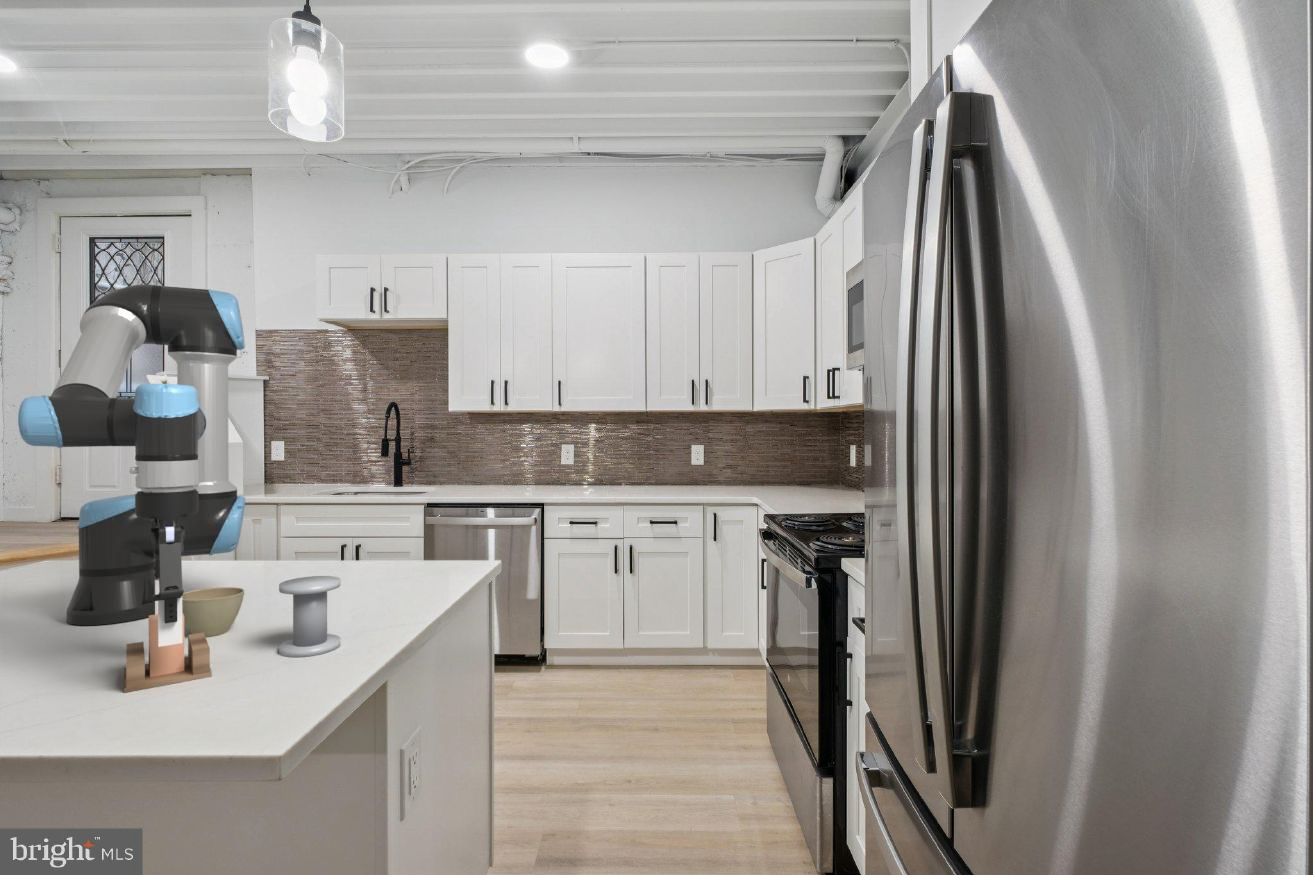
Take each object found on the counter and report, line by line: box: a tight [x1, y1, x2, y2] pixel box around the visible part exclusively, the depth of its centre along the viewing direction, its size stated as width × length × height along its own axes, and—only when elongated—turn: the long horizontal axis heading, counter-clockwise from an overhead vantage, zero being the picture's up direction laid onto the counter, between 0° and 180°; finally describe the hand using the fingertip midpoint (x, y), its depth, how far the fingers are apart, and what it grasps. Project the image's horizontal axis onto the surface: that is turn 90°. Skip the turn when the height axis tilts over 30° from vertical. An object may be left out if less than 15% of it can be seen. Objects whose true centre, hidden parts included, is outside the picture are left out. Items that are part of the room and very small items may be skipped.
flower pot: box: [182, 586, 245, 638], centre depth 117 cm, size 10×10×7 cm
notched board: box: [123, 632, 213, 694], centre depth 97 cm, size 10×10×4 cm
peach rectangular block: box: [148, 612, 185, 677], centre depth 97 cm, size 4×4×8 cm
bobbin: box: [278, 575, 341, 658], centre depth 109 cm, size 9×9×11 cm
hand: (168, 632), depth 98 cm, fingers open, 13 cm apart
